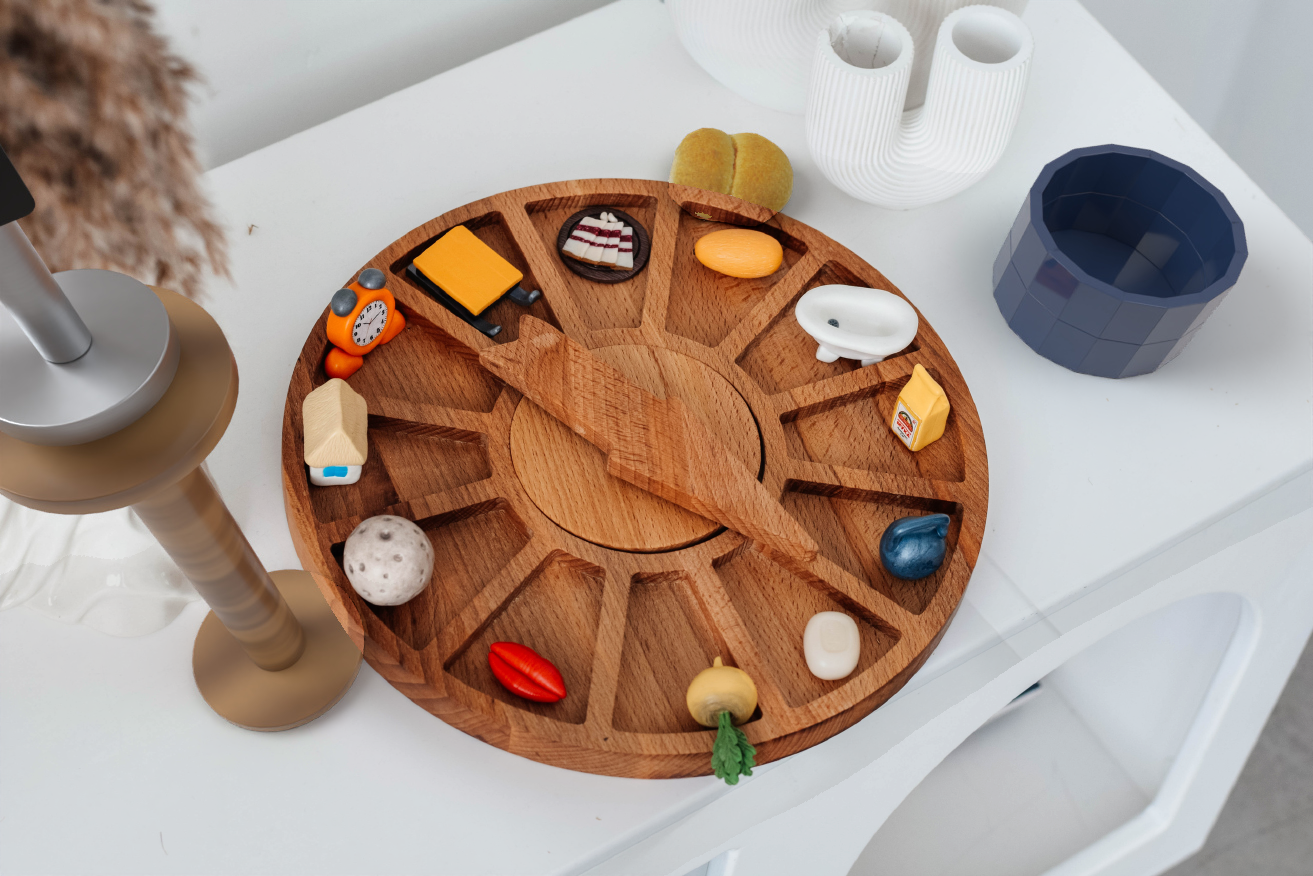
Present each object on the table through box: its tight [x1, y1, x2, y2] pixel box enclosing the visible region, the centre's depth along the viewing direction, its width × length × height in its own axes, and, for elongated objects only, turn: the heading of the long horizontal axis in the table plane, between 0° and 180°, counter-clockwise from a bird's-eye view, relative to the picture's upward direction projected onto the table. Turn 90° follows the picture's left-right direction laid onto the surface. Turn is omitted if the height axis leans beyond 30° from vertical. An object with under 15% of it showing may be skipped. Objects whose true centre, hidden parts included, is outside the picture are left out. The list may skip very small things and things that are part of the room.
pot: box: [992, 143, 1249, 380], centre depth 72 cm, size 14×14×8 cm
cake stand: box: [0, 283, 364, 733], centre depth 48 cm, size 9×9×26 cm
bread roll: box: [667, 127, 794, 219], centre depth 77 cm, size 8×9×4 cm
